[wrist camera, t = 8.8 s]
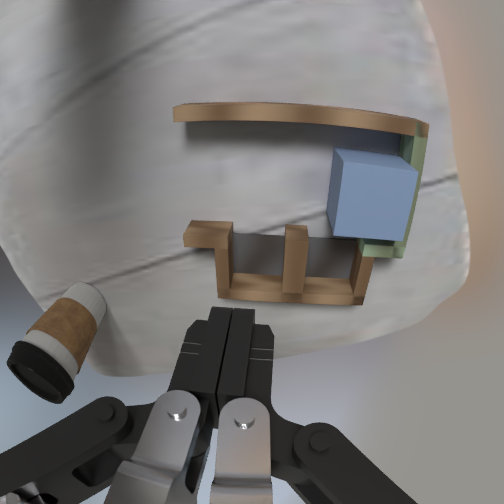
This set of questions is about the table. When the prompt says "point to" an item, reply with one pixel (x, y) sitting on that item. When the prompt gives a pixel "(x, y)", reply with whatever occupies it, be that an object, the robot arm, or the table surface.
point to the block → (370, 194)
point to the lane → (296, 236)
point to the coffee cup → (58, 343)
